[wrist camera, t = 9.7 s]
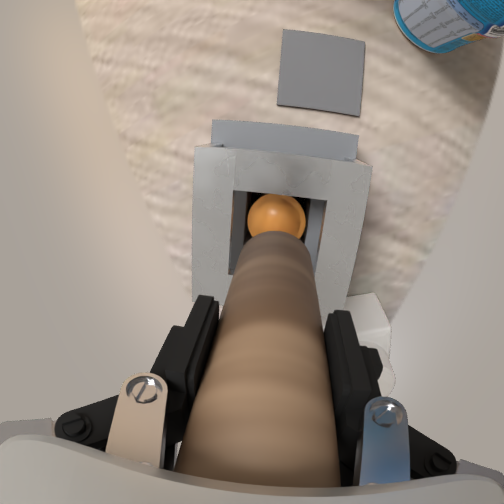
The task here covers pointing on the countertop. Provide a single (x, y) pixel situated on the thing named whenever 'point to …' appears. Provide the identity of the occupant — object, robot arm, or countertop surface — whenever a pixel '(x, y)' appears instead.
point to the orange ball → (276, 215)
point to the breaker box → (287, 142)
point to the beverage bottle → (449, 22)
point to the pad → (321, 72)
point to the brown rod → (266, 378)
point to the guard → (282, 183)
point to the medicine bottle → (372, 335)
